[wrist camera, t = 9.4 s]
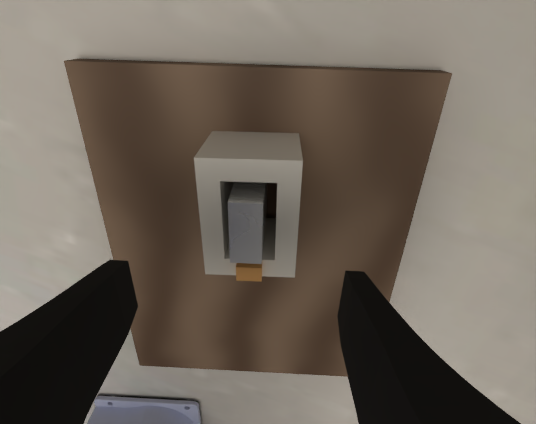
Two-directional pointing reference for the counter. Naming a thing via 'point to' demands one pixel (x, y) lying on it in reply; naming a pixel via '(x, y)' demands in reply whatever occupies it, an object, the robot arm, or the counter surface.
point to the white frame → (249, 170)
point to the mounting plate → (311, 200)
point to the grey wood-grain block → (247, 221)
